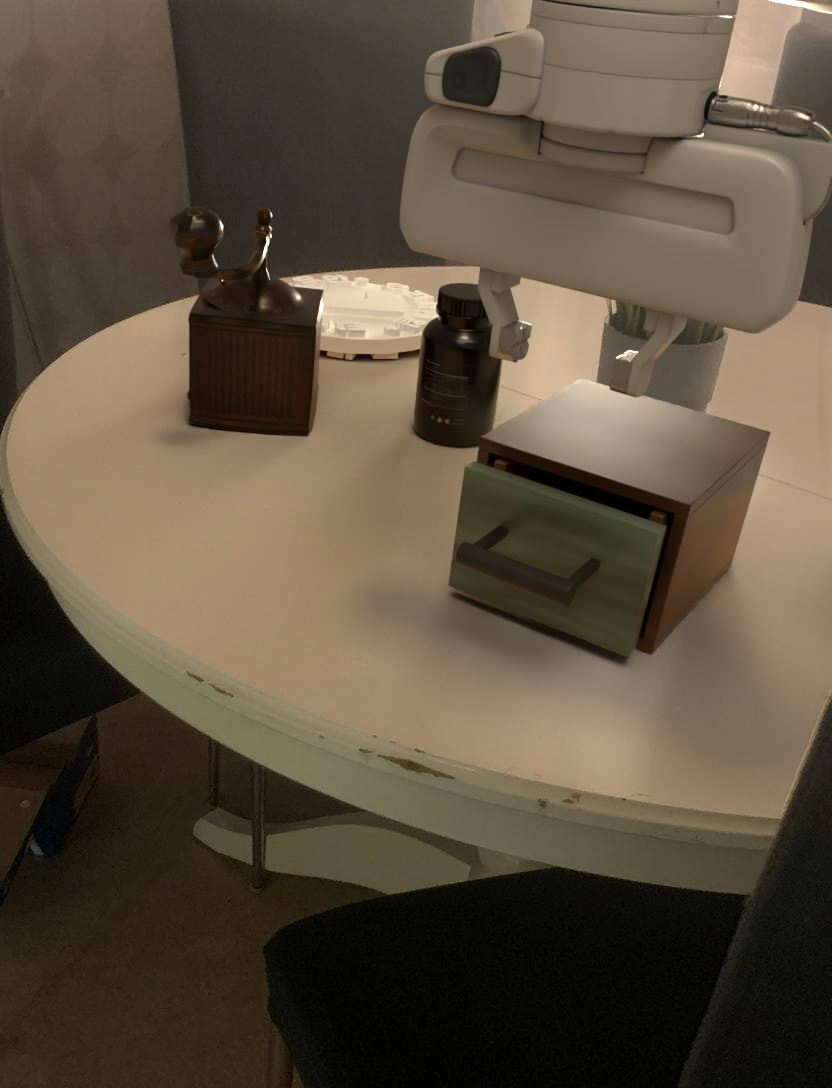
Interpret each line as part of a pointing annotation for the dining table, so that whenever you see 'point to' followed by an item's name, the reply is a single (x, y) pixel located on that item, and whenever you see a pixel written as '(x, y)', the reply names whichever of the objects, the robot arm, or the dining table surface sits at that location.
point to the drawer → (559, 551)
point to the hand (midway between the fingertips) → (566, 374)
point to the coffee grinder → (248, 335)
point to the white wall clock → (369, 316)
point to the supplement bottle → (457, 370)
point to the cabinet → (648, 477)
